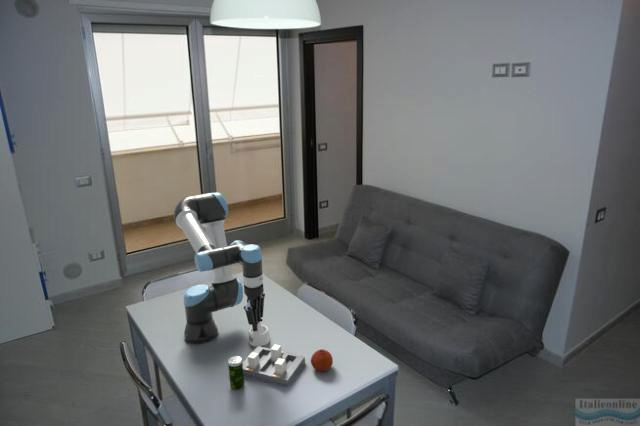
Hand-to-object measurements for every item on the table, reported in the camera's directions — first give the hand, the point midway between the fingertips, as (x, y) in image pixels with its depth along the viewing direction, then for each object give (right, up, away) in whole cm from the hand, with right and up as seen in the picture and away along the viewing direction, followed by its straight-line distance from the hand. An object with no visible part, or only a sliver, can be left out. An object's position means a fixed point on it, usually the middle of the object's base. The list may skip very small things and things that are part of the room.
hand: (257, 336), depth 183 cm
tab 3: (+10, -14, -5) cm, 18 cm away
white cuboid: (+8, -11, +4) cm, 14 cm away
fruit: (+26, -13, 0) cm, 30 cm away
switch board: (+6, -13, +1) cm, 15 cm away
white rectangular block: (-1, -13, -1) cm, 13 cm away
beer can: (-6, -17, -9) cm, 20 cm away
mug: (-3, -8, +21) cm, 23 cm away
